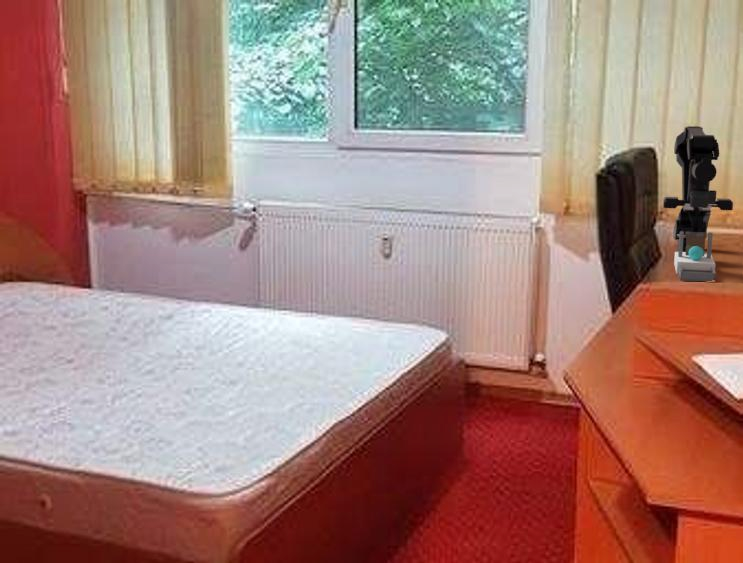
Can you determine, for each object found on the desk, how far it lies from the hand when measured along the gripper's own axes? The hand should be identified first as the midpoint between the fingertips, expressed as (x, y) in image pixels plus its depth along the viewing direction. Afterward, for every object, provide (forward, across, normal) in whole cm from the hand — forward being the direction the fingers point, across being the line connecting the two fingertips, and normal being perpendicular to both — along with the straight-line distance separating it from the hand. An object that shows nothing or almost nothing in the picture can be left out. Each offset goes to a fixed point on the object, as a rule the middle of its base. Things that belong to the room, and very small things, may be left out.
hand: (695, 233), depth 270 cm
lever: (+6, 0, -3) cm, 7 cm away
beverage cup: (+10, +3, +33) cm, 35 cm away
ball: (+4, 0, -8) cm, 9 cm away
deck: (+10, 0, -3) cm, 10 cm away
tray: (+10, 0, -17) cm, 20 cm away
